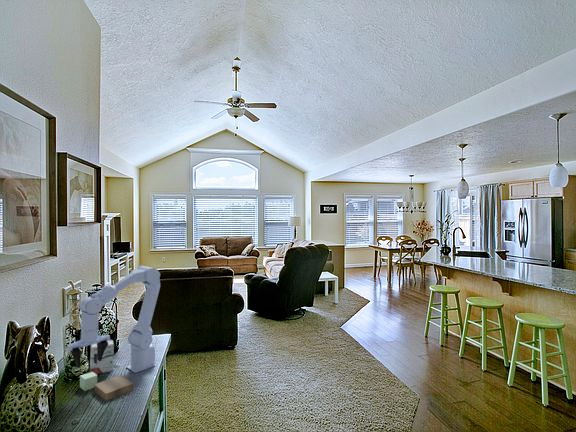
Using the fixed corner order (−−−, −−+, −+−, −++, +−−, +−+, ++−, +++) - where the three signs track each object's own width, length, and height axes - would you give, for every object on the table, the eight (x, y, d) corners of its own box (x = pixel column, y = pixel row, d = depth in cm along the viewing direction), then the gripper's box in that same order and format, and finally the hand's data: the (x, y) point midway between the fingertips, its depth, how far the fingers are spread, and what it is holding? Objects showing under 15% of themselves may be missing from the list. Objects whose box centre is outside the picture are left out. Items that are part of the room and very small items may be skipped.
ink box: (90, 375, 139) (91, 347, 139) (89, 370, 143) (90, 343, 143) (113, 370, 144) (114, 343, 144) (112, 366, 148) (112, 339, 148)
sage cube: (92, 382, 134) (92, 371, 134) (97, 386, 131) (97, 375, 131) (79, 387, 130) (80, 375, 130) (84, 391, 127) (84, 379, 127)
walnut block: (120, 382, 135) (120, 375, 135) (132, 391, 129) (133, 383, 129) (93, 392, 127) (94, 384, 127) (105, 402, 121) (105, 393, 121)
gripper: (72, 336, 122) (71, 373, 122) (113, 326, 133) (112, 360, 133) (65, 331, 126) (64, 367, 126) (105, 322, 138) (105, 355, 138)
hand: (88, 363), depth 130 cm, fingers open, 7 cm apart
